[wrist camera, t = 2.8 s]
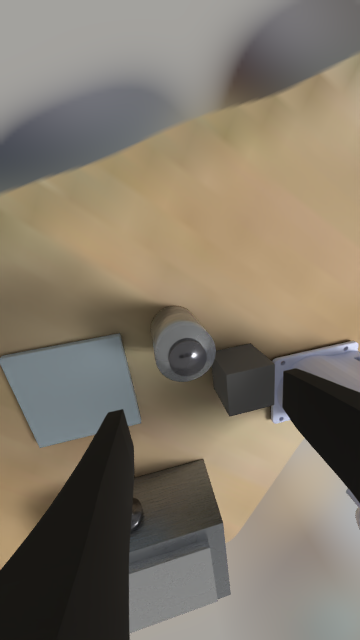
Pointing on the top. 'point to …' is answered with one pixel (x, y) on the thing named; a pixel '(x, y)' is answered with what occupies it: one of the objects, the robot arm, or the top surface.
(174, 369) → the cylinder
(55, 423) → the pad
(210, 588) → the box
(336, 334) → the top surface
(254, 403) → the rubber block
